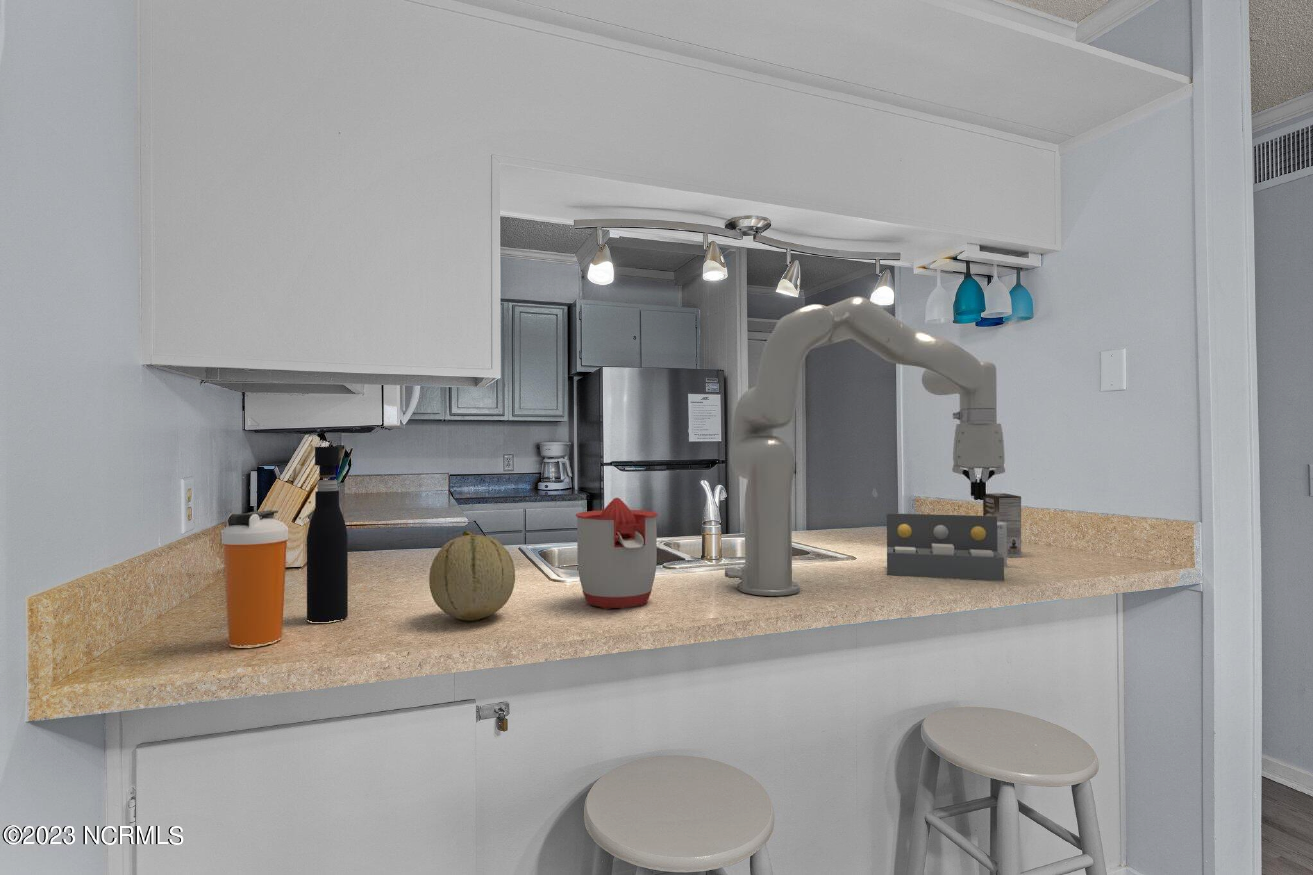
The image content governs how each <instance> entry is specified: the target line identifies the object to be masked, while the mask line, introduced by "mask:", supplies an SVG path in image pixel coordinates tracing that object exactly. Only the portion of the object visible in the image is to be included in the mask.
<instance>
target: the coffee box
mask: <svg viewBox="0 0 1313 875" xmlns="http://www.w3.org/2000/svg"><path fill="white" fill-rule="evenodd" d="M982 512H983V513H982V516H997V522H1003V523H1007V558H1022V496H1021V495H1017V494H1010V493H1004V492H1003V493H1001V492H1000V493H994V492H993V493H986V496H983V500H982Z"/></svg>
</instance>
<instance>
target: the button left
mask: <svg viewBox="0 0 1313 875" xmlns="http://www.w3.org/2000/svg"><path fill="white" fill-rule="evenodd" d="M895 553H916V549H915V547H895Z"/></svg>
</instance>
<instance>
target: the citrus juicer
mask: <svg viewBox="0 0 1313 875" xmlns="http://www.w3.org/2000/svg"><path fill="white" fill-rule="evenodd" d="M658 515H659V513H658V512H656V511H651V510H650V511H649V510H639V509H630V508H629V507H628V505H627V504H626V503H625V502H624V501H623V500H622V499H621V498H620V497H614V498H613V499H612V500H611V501H610V502H609V503H608V504H607V505H606V506H605V508H604V509H602V510H591V511H590V510H589V511H582V512H578V513H576V514H575V517H576V521H577V522H576V526H577V527H576V528H577V529H576V531H577V533H576V534H577V539H576V542H577V545H576V546H577V548H576V549H577V552H576V553H577V554H576V556H577V572H578V577H579V583H580V585H581V589H582V593H583V596H584V599H585V601H586V603H587V604H588V605H591V606H594V607H600V608H601V609H603V610H610V609H611V610H612V609H613V608H619V609H620V608H630V607H641V606H644V605H645V604H646V603H647V602H648V601H649V598H650V597H651V594H652V590H653V585H654V581H655V579H656V578H655V577H656V572H657V560H658V556H657V555H658V554H657V552H658V551H657V550H658V549H657V546H658V545H657V544H658V542H657V540H658V539H657V531H658V530H657V517H658Z"/></svg>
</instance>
